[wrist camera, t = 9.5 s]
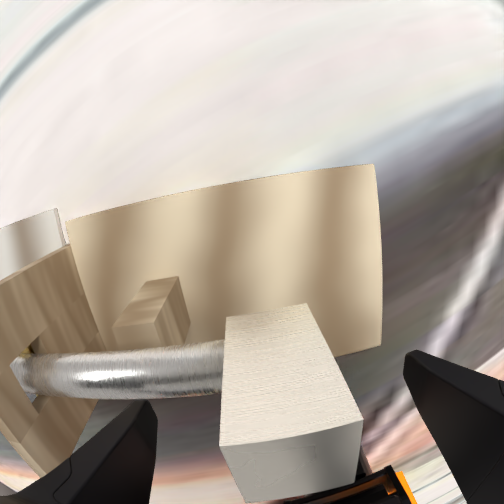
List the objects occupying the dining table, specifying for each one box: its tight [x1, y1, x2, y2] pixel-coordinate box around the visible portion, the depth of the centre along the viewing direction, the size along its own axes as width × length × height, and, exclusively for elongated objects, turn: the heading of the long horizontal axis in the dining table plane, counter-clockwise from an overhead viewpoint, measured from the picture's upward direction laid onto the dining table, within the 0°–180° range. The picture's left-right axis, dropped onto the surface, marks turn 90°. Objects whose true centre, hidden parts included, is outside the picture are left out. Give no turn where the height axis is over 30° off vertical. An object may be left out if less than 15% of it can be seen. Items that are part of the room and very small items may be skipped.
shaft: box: [10, 303, 364, 503], centre depth 8 cm, size 21×3×6 cm, turn 100°
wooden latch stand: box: [0, 164, 382, 478], centre depth 13 cm, size 29×14×12 cm, turn 100°
